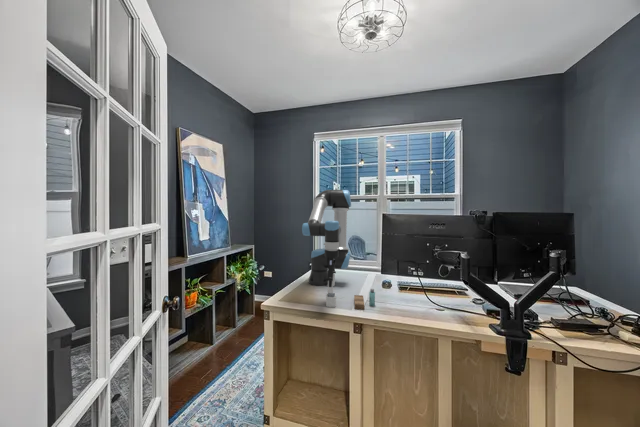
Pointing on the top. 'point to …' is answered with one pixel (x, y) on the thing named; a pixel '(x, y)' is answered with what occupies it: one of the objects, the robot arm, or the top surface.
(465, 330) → the top surface
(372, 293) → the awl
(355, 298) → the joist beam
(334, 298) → the pale grey block
